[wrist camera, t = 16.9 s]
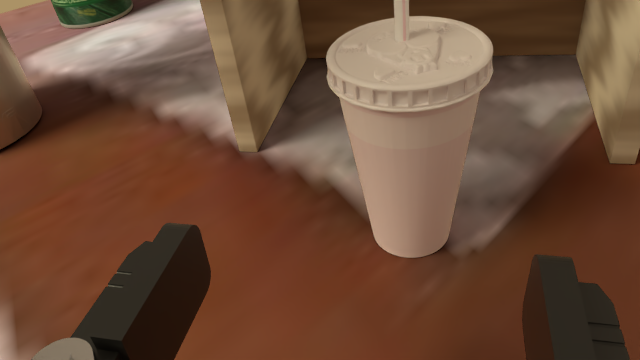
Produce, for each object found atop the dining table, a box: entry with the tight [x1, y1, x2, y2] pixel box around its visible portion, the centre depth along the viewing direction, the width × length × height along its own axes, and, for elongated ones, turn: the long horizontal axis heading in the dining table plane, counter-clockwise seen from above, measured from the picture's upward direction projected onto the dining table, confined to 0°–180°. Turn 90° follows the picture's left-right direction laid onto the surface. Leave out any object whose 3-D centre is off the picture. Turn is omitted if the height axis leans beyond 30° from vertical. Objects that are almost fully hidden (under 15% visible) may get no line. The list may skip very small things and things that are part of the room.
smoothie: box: [326, 0, 493, 258], centre depth 22 cm, size 6×6×14 cm
